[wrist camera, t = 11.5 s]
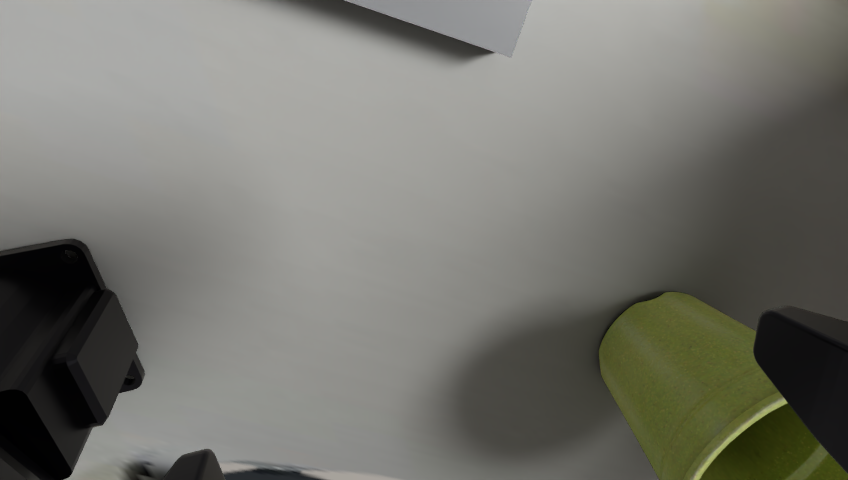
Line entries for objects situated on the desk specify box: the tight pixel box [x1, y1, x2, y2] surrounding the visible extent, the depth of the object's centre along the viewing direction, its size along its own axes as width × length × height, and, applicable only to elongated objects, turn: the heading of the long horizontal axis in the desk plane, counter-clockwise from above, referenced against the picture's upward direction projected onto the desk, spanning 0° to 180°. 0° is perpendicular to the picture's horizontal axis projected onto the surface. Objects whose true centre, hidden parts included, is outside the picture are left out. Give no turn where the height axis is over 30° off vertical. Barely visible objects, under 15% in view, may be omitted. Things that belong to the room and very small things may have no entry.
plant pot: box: [599, 292, 848, 480], centre depth 23 cm, size 9×9×9 cm
